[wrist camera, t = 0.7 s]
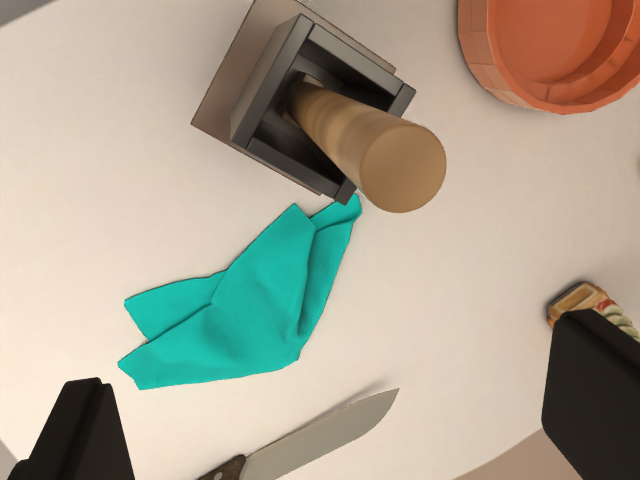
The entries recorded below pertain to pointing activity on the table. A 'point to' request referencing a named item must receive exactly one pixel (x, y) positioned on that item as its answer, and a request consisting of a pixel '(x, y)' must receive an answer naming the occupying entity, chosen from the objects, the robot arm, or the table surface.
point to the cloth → (243, 305)
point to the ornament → (591, 306)
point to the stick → (368, 145)
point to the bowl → (552, 51)
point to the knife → (309, 441)
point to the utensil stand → (274, 80)
